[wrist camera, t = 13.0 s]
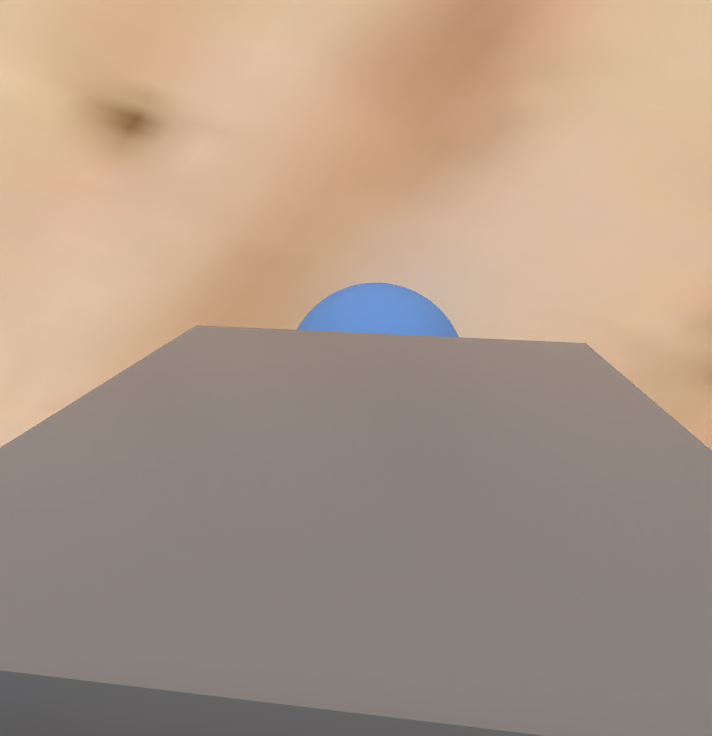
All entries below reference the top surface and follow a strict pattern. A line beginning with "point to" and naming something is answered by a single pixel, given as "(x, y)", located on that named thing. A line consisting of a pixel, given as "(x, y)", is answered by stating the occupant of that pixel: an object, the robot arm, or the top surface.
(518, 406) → the gray rectangular platform
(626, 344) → the top surface
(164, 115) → the top surface
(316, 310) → the ball
